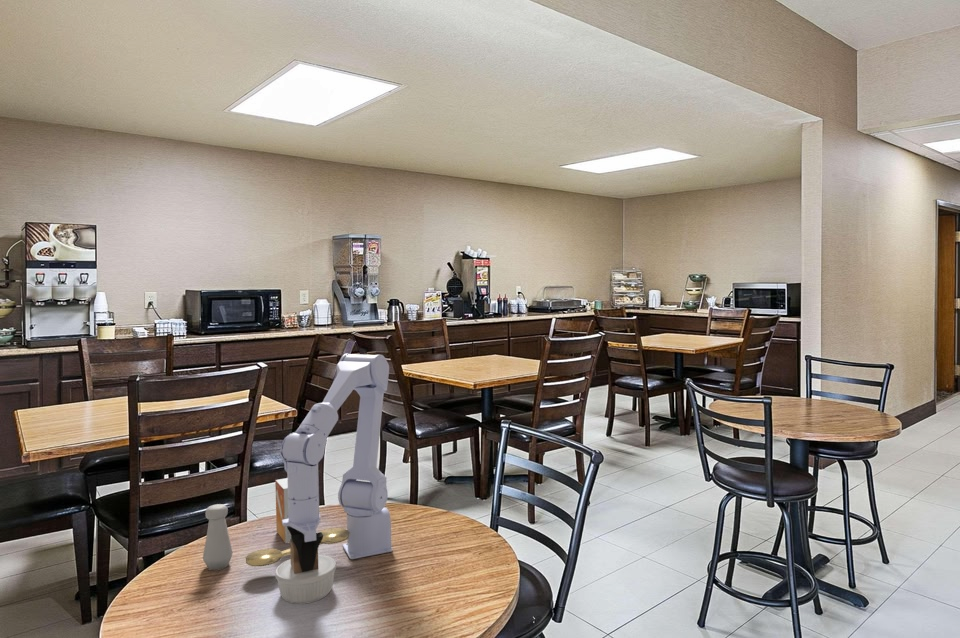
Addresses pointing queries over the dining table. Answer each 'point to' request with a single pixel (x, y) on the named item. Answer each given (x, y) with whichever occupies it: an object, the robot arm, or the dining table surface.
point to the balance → (275, 555)
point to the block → (295, 559)
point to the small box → (282, 508)
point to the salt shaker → (217, 539)
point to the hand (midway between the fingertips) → (305, 564)
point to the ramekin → (306, 581)
